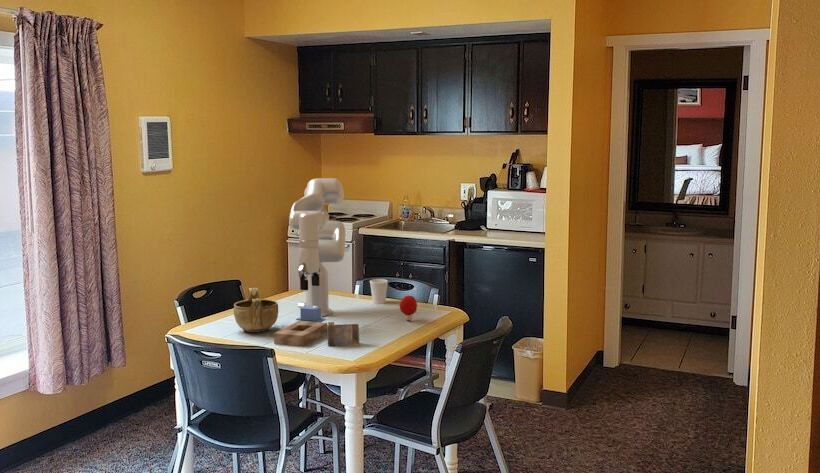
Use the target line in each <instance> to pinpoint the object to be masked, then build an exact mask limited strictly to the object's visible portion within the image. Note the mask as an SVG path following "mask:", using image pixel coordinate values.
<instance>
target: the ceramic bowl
mask: <svg viewBox="0 0 820 473" xmlns="http://www.w3.org/2000/svg"><path fill="white" fill-rule="evenodd" d="M258 289H259V288H258V287H249V288H248V298H247V299H245V300H239V301H237V302H234V304H233V316H234V319H235V322H236V324H237V325H238V326H239V328H241V329H242V330H243V331H246V332H247V333H248V332H249V333H260V332H264V331H267V330H269V329H270V328H271V327H273V325H275V323H276V322H277V320H278V318H279V317H278V316H279V303H278V301H277V300H274V299H267V298H260V296H259V290H258Z"/></svg>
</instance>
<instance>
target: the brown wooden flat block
mask: <svg viewBox="0 0 820 473" xmlns="http://www.w3.org/2000/svg"><path fill="white" fill-rule="evenodd" d="M327 325H328V322H310V321H301V320H297V321H295V322H294V323H292V324H290V325H289V324H288V326H286V327H285V326H284V327H283V328H281V329H279V330H277V331H276V332H274V333H273V343H274V345H283V346H291V347H301V346H302V348H303V347H306V346H307V345H309V344H312V343H313V342H315V341H316V340H318V339H320V338H321V337H323V336H325V335H328V332H327Z"/></svg>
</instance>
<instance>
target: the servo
mask: <svg viewBox="0 0 820 473" xmlns="http://www.w3.org/2000/svg"><path fill="white" fill-rule="evenodd" d="M299 310H300V316H299V317H297V318H295V319H296V321H310V322H322V323H324V321H326V320H327V319H326V318H322V316H321V307H318V306H313V307H311V306H304V307H302V308H299Z"/></svg>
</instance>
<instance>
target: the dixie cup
mask: <svg viewBox="0 0 820 473" xmlns="http://www.w3.org/2000/svg"><path fill="white" fill-rule="evenodd" d="M388 282H389V280H388V279H384V278H376V279H375V278H374V279H371V280H369V283H370V292H371V299H372V304H374V303H375V304H377V305H382V304H386V301H387V292H388V291H387V290H388Z"/></svg>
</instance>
